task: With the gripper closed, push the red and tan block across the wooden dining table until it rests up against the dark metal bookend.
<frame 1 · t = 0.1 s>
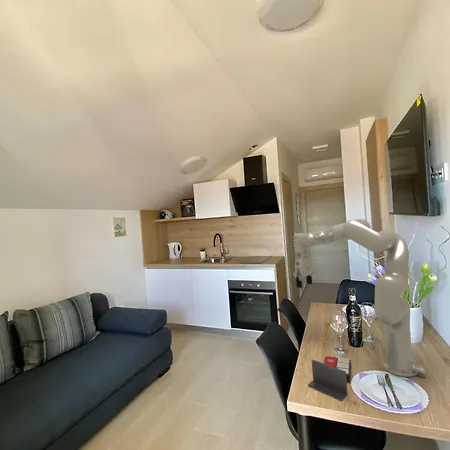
hand: (304, 285, 153), 31 cm above the table, tool pointing down, fingers open, 9 cm apart
red and tan block: (337, 373, 121), on the table
bookend: (327, 390, 108), on the table
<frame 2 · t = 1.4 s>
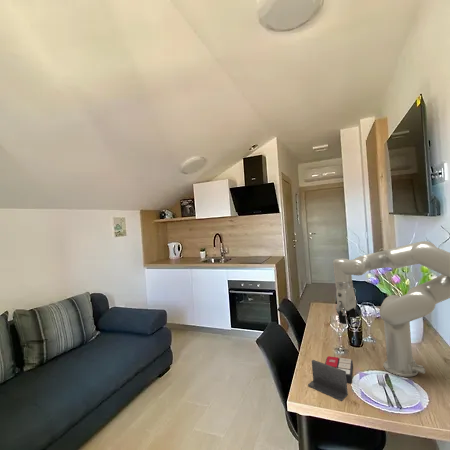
hand: (348, 320, 131), 18 cm above the table, tool pointing down, fingers open, 9 cm apart
nothing on the table moved.
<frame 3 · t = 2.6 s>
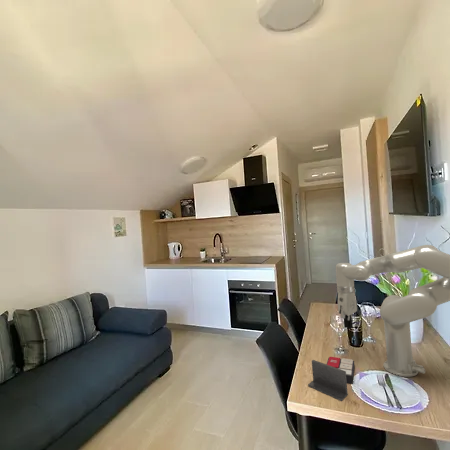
hand: (348, 327, 130), 15 cm above the table, tool pointing down, fingers closed
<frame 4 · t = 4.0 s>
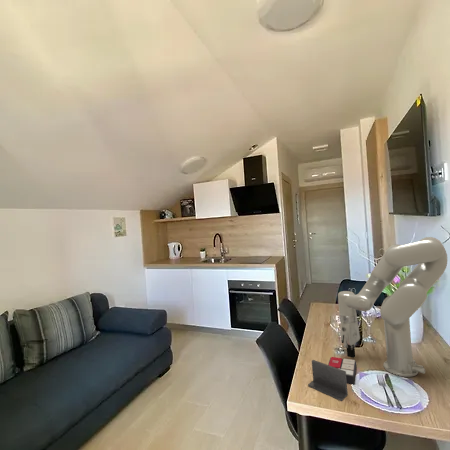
hand: (351, 356, 130), 1 cm above the table, tool pointing down, fingers closed
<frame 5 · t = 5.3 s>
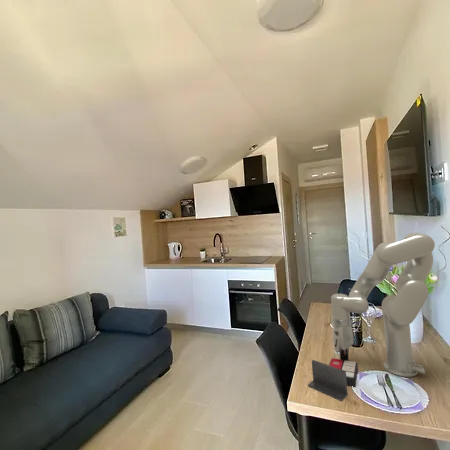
hand: (344, 361, 126), 1 cm above the table, tool pointing down, fingers closed
red and tan block: (342, 376, 118), on the table
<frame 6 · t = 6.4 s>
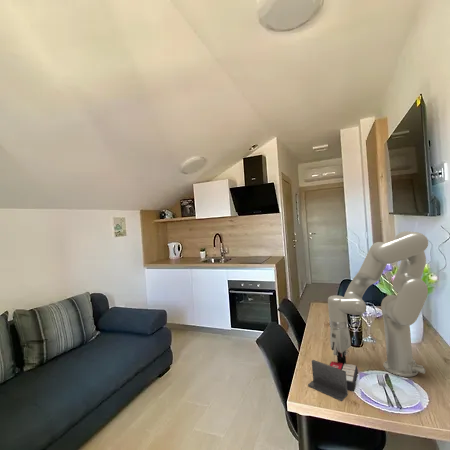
hand: (341, 364, 124), 1 cm above the table, tool pointing down, fingers closed
red and tan block: (342, 379, 115), on the table
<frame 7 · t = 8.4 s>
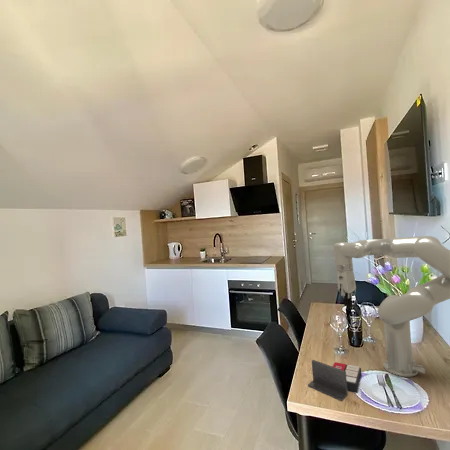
hand: (348, 306, 132), 25 cm above the table, tool pointing down, fingers closed
red and tan block: (345, 381, 114), on the table
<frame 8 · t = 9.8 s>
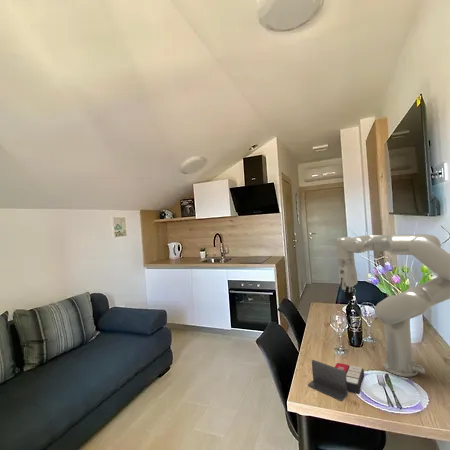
hand: (349, 299, 134), 27 cm above the table, tool pointing down, fingers closed
at the end: red and tan block inside the target area (4.7 cm from its centre), on the table; red and tan block moved 7.5 cm from its start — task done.
